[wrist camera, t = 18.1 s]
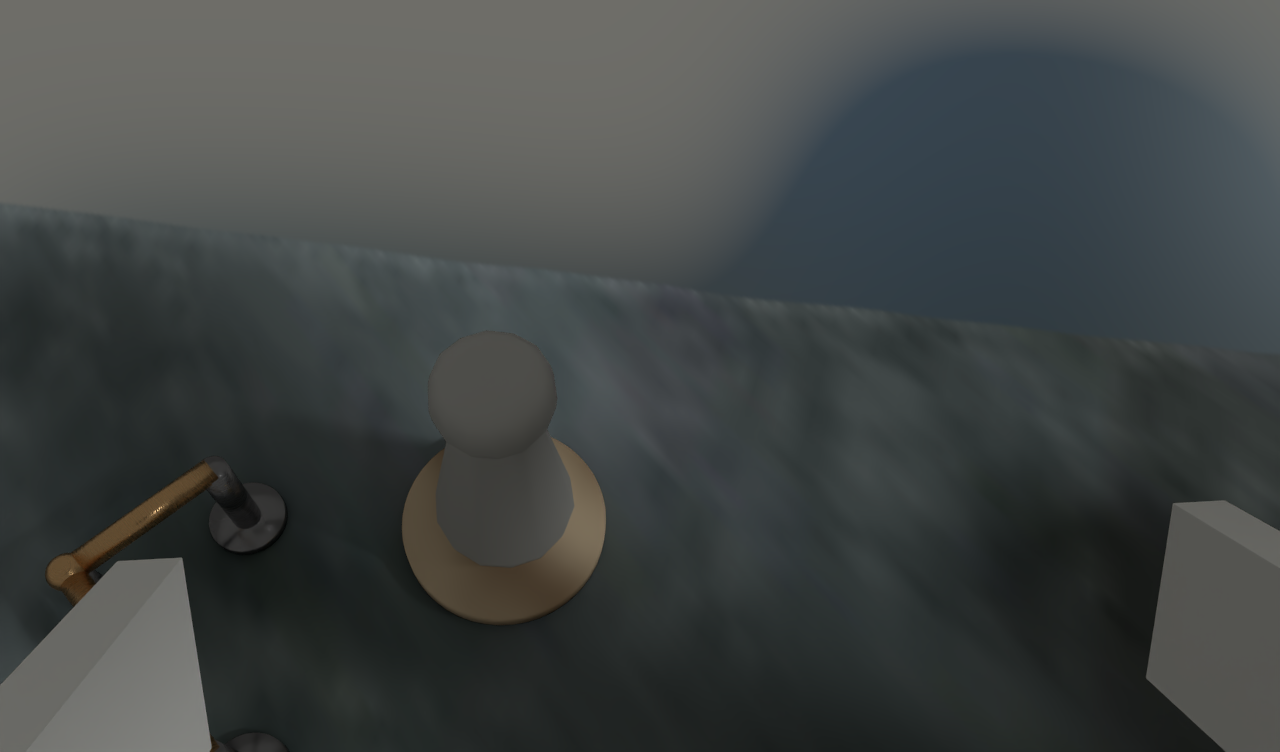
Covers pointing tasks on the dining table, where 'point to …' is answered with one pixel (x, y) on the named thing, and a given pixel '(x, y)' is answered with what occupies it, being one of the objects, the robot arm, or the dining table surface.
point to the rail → (235, 523)
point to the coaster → (500, 588)
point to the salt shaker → (498, 450)
